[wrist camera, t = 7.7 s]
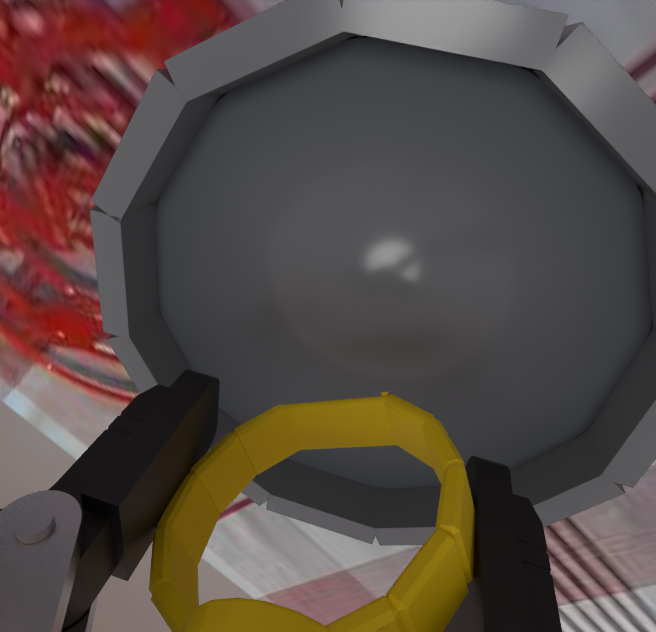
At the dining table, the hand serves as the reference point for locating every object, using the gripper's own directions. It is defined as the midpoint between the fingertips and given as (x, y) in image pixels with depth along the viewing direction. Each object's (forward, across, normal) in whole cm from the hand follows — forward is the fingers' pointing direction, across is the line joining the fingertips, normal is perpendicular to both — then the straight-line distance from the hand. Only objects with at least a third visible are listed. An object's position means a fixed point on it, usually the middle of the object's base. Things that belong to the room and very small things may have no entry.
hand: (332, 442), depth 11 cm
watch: (+1, 0, 0) cm, 1 cm away
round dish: (+7, 0, 0) cm, 7 cm away
